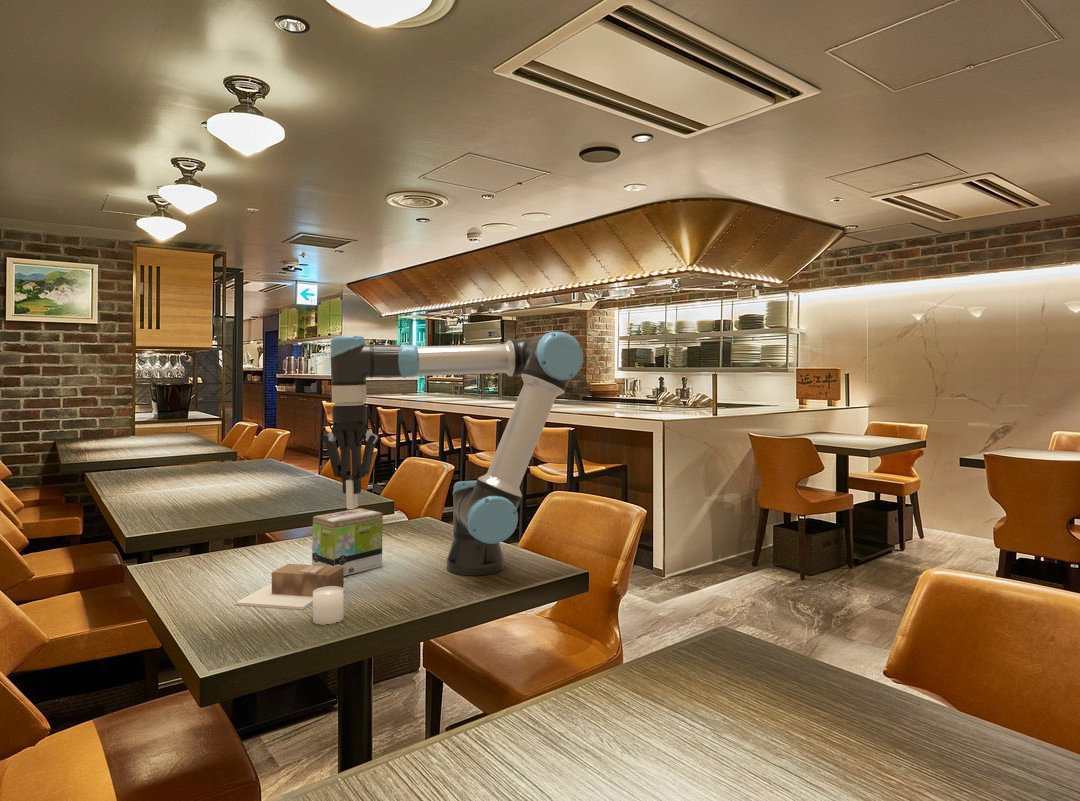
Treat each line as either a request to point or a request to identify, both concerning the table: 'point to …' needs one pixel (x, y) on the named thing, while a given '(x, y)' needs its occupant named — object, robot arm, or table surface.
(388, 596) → the table surface
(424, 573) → the table surface
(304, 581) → the wooden block
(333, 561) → the tea box
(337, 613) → the white pillar candle
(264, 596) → the felt mat
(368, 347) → the robot arm
